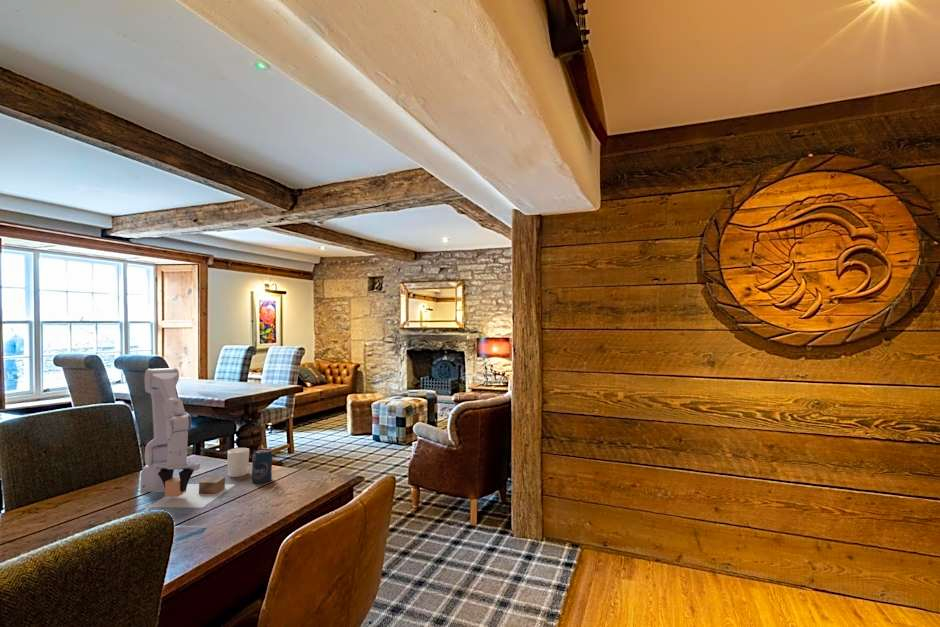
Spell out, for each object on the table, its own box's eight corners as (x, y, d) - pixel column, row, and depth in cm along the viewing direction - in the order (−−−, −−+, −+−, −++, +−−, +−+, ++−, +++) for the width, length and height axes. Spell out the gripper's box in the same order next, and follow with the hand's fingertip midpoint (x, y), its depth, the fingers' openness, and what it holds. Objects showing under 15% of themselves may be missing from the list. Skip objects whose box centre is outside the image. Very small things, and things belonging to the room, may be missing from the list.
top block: (164, 496, 152) (165, 481, 152) (173, 491, 156) (173, 477, 157) (178, 496, 152) (178, 481, 152) (186, 491, 157) (186, 477, 157)
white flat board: (146, 508, 147) (146, 506, 147) (186, 485, 169) (186, 483, 169) (202, 509, 147) (202, 507, 147) (235, 485, 169) (235, 484, 169)
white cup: (252, 472, 185) (253, 448, 185) (240, 479, 177) (241, 453, 177) (234, 471, 186) (235, 447, 186) (222, 478, 178) (223, 452, 178)
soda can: (250, 486, 169) (251, 453, 170) (253, 479, 176) (254, 449, 176) (269, 484, 171) (270, 452, 172) (272, 478, 178) (273, 448, 178)
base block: (198, 493, 159) (199, 482, 159) (208, 487, 165) (208, 476, 165) (215, 494, 159) (216, 482, 160) (224, 488, 165) (225, 477, 166)
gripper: (147, 453, 150) (146, 494, 150) (192, 454, 151) (190, 495, 150) (161, 448, 158) (160, 487, 157) (203, 448, 158) (202, 487, 158)
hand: (175, 490), depth 154 cm, fingers closed on top block, 4 cm apart
